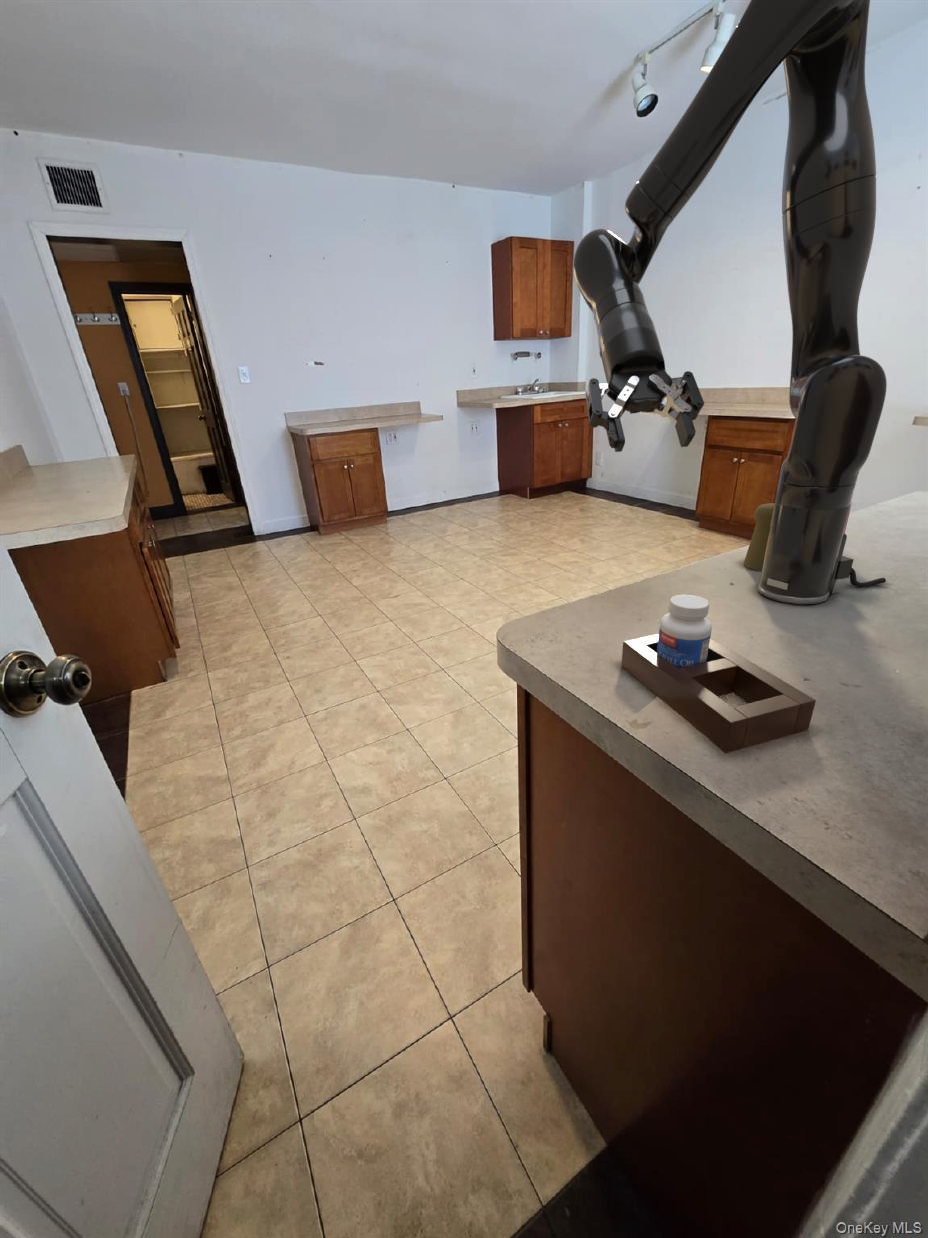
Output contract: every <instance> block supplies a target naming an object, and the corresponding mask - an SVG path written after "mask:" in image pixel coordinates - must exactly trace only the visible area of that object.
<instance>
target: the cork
mask: <svg viewBox="0 0 928 1238" xmlns="http://www.w3.org/2000/svg"><path fill="white" fill-rule="evenodd" d="M774 504H775V502H773V503H772V502H771V503H763V504H760V505H759V506H757V507H756V509H755V511H754V521H755V522H756V523H755V527H754V530H753V533H752V535H751V539H750V542H749V544H748V548H747V551H746V554H745V557H744V560H743V563H742V564H743V566H744V567H746V568H747V569H749V570H754V571H758V572H759V571H760V572H762V567H763V562H764V557H765V552H766V547H767V541H768V536H769V531H770V526H771V520H772V515H773V510H774Z"/></svg>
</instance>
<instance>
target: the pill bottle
mask: <svg viewBox="0 0 928 1238" xmlns="http://www.w3.org/2000/svg"><path fill="white" fill-rule="evenodd" d="M709 606H710V602H709V600H708V599H706V598H704V597H702V596H699V595H696V594H695V595H694V594H676V595H673V596H672V597H670V599H669V605H668V613H665V614H664V615H663V616H662V618H661V619H660V623H659V630H658V634H659V637H658V645H657V654H659V655H660V656H662V657H663V658H664V659H666V660H667V661H669V662H670V663H671V664H673V665H674V666H676V667H677V668H678V669H680V668H684V667H688V666H693V665H697V664H701V663H706V660H707V655H708V649H709V643H710V638H711V636H712V631H713V630H712V629H713V626H712V622H711V621H710V620H709V618H707V616H708V614H709Z"/></svg>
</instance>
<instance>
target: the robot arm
mask: <svg viewBox="0 0 928 1238" xmlns="http://www.w3.org/2000/svg"><path fill="white" fill-rule="evenodd" d="M870 5H871V0H750V1H749V3H748V5H747V7H746V8H745V11H744V12H743V14H742V16H741V18H740V20H739V22H737V25H736V27H735V29H734V30H733V32H732V34H731V35H730V37H729V39H728V40H727V42H726V44H725V46H724V47H723V49H722V51H721V52H720V54H719V56H718V58H717V60H716V61H715V62H714V65H713V67H712V68H711V70H710V71H709V73H708V74H707V76H706V78H705V80H704V81H703V83H702V84H701V86H700V88H699V89H698V91H697V92H696V94H695V96H694V98H692V101H691V102H690V104H689V105H688V107H687V108H686V110H685V112H684V113H683V114H682V116H681V118H679V120H678V122H677V123H676V125H675V127H674V128H673V130H672V131H671V133H670V134H669V135H668V137H667V139H666V140H665V141H664V143H663V144H662V145H661V147H660V148H659V150H658V152H656V154H655V156H654V157H653V158H652V159H651V161H650V163H649V164H648V166H647V167H646V169H645V170H644V171H643V173H642V174H641V176H640V177H639V178H638V180H637V182H636V183H635V184H634V186H633V187H632V189H631V190H630V192H629V194H628V195H627V197H626V199H625V202H624V211H625V214H626V215H627V217H628V219H629V221H631V223H632V224H633V226H634V227H633V231H632V235H631V237H630V239H629V241H628V243H626V242H625V241H624V240H623V239H621V238H620V237H618V236H617V235H616V234H614V233H613V231H610V230H608V229H605V228H595V229H593V230H592V231H589V232H587V234H585V235H584V236H583V237H582V238H581V240H580V241H579V243H578V244H577V247H576V249H575V250H574V251H575V252H574V255H573V261H572V272H573V278H574V281H575V284H576V287H577V289H578V290H579V292H580V294H581V296H582V298H583V300H584V302H585V303H586V305H587V307H588V308H589V309H590V311H591V313H592V315H593V320H594V324H595V328H596V333H597V340H598V342H597V343H598V349H599V352H598V353H599V357H600V359H601V363H602V367H603V372H604V375H605V381H606V382H605V383H603V382H600V381H599V379H598V378H595V377H593V378H590V379H589V383H588V385H587V389H586V393H585V400H586V407H587V415H588V423H589V426H590V428H598V427H602V428H603V429H604V430H605V432H606V436H607V441H608V445H609V447H610V448H611V449H614V452H615V453H621V452H623V449H624V446H625V444H626V437H625V433H624V428H623V425H622V424H623V423H622V421H621V418H622V417H623V415H624V413H626V412H629V414H630V415H632V414H637V413H641V412H642V413H654V412H656V413H657V414H658V415H660V416H661V417H662V418H668V419H669V420H671V421H672V422H674V423H675V425H674V427H675V431H676V434H677V438H678V441H679V445H680V447H681V448H687V447H689V445H690V444H691V442H692V441H693V440H694V438H695V436H696V432H697V431H696V427H695V424H694V421H695V420H696V419H697V418H698V417H699V414H700V412H701V410H703V408H704V406H705V400H704V398H703V396H702V394H701V393H702V392H701V391H700V389H699V386H698V383H697V380H696V378H695V376H694V373H693V372H692V371H690V370H689V371H688V370H687V371H684V372H683V374H682V376H678V377H671V375H670V374H669V373H668V372H667V370H666V361H665V358H664V354H663V351H662V347H661V343H660V341H659V336H658V334H657V330H656V327H655V324H654V321H653V319H652V317H651V315H650V313H649V310H648V306H647V303H646V300H645V299H646V298H645V296H644V293H643V291H642V288H641V287H640V283H641V282H642V280H643V279H644V276H645V274H646V272H647V271H648V270H647V269H648V268H649V266H650V264H651V262H652V260H653V257H654V255H655V253H656V252H657V250H658V248H659V246H660V244H661V242H662V241H663V239H664V236H665V234H666V232H667V231H668V229H669V227H670V226H671V225H672V224H673V222H674V221H675V219H676V218H677V217H678V216H679V214H680V213H681V212H682V210H683V209H685V207H686V206H687V204H688V203H689V201H690V200H691V199H692V198H693V197H694V195H695V194H696V192H697V191H698V190H699V189H700V187H701V186H702V184H703V183H704V181H705V180H706V178H707V177H708V175H709V174H710V172H712V170H713V168H714V166H715V164H716V162H717V161H718V160H719V158H720V156H721V154H722V153H723V151H724V149H725V147H726V146H727V144H728V142H729V140H730V139H731V137H732V135H733V134H734V131H735V130H736V128H737V126H738V125H739V123H740V121H741V120H742V118H743V116H744V115H745V113H746V111H747V110H748V109H749V107H750V106H751V104H752V103H753V101H754V100H755V98H756V97H757V95H758V94H759V92H760V91H761V90H762V88H763V87H764V86H765V84H766V83H767V82H768V80H769V79H770V78H771V77H772V75H773V74H774V73H775V71H776V70H777V69H778V68H779V66H780V65H781V64H782V65H783V73H784V80H785V88H786V94H787V95H786V96H787V107H788V109H787V110H788V125H787V127H788V128H787V139H786V147H785V154H784V163H783V172H782V186H781V187H782V188H781V189H782V190H781V221H782V223H781V225H782V241H783V255H784V262H785V263H784V264H785V274H786V275H785V276H786V284H787V285H786V286H787V294H788V303H789V309H790V317H791V330H792V331H791V333H792V334H791V335H792V337H791V340H792V341H791V361H790V362H791V363H790V376H789V377H790V378H789V391H788V392H789V393H788V403H789V408H790V411H791V413H792V415H793V417H794V418H795V419H796V423H795V428H794V433H793V437H792V442H791V446H790V450H789V452H788V454H787V456H786V457H785V460H783V462H782V464H781V468H780V472H779V477H778V482H777V483H778V484H777V488H776V493H775V494H776V495H775V499H774V503H775V504H774V510H773V515H772V520H771V526H770V531H769V536H768V541H767V547H766V552H765V557H764V562H763V567H762V571H761V573H760V578H759V581H758V586H757V591H758V592H759V594H760V595H762V596H764V597H765V598H768V599H771V600H773V601H777V602H781V603H785V604H786V603H787V604H792V605H793V604H794V605H815V604H816V605H817V604H821V603H824V602H826V601H827V600H828V599H829V597H830V596H832V595H833V594H834V590H835V585H836V582H837V580H838V581H839V580H844V579H849V582H850V584H851V585H852V586H854V587H856V588H869V587H873V586H876V585H881V584H885V583H886V582H887V579H886V578H885V577H879V578H875V579H871V580H869V581H865V582H861V581H858V580H857V579H858V578H857V573H856V570H855V569H854V568H853V564H854V558H850V557H847V556H844V555H843V554H844V551H845V547H846V543H847V539H848V535H847V534H846V533H844V530H845V526H846V522H847V518H848V514H849V515H850V513H849V510H850V511H851V508H850V506H851V507H852V503H851V501H852V500H853V497H854V493H855V487H856V485H857V480H858V477H859V474H860V472H861V470H862V469H863V466H864V465H865V463H867V460H868V458H869V456H870V453H871V450H872V447H873V443H874V440H875V436H876V433H877V429H878V427H879V423H880V421H881V417H882V413H883V409H884V405H885V401H886V394H887V387H888V386H887V385H888V384H887V383H888V381H887V376H886V373H885V370H884V368H883V366H881V364H880V363H879V362H878V361H877V360H875V359H873V358H871V357H869V356H865V355H862V354H861V351H860V340H859V327H858V326H859V325H858V312H859V311H858V310H859V302H860V296H861V292H862V287H863V283H864V279H865V275H866V271H867V267H868V263H869V259H870V255H871V251H872V246H873V241H874V236H875V228H876V217H877V162H876V161H877V160H876V148H875V138H874V129H873V123H872V116H871V112H870V106H869V100H868V95H867V86H866V54H867V53H866V52H867V41H868V40H867V37H868V25H869V17H870ZM605 395H606V396H607V397H608V398H609V399H610V400H611V401H613V402H614V403H613V405H612V407H611V408H610V409H609V411H606V410H604V408H603V402H602V400H603V398H604V396H605ZM665 398H666V403H665V404H664V403H663V402H664V400H665ZM848 519H849V518H848ZM847 523H848V522H847ZM846 527H847V526H846ZM845 531H846V530H845Z"/></svg>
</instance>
